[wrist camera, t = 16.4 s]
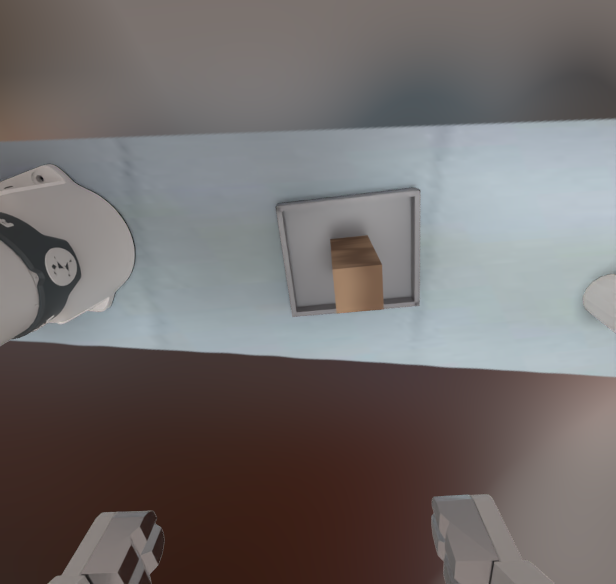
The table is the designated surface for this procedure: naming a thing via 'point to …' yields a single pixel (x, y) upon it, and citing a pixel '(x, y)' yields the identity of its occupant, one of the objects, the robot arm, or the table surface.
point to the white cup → (602, 300)
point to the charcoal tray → (350, 223)
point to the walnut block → (356, 275)
